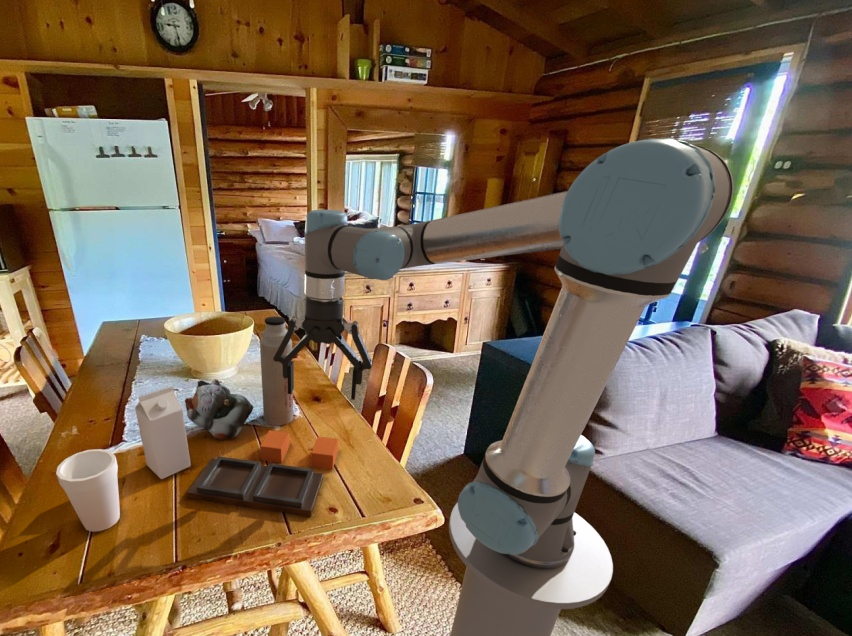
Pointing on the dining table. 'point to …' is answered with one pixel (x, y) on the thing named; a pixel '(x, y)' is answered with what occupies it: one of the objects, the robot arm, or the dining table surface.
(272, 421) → the thermos bottle
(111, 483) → the foam cup
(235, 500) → the dark grey divided tray
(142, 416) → the milk carton
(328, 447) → the pad
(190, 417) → the lucky cat figurine
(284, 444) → the pad
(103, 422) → the dining table surface
